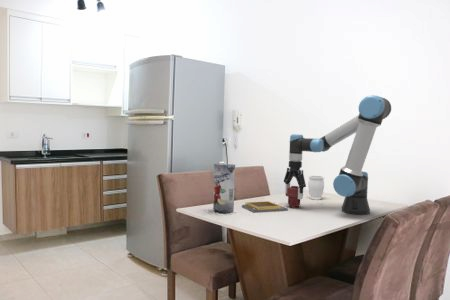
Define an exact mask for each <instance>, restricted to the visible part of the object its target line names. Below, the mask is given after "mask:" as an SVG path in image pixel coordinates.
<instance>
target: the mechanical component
mask: <svg viewBox="0 0 450 300" xmlns="http://www.w3.org/2000/svg"><path fill="white" fill-rule="evenodd" d="M298 187H299V185H298V186H297V185H290V187H288V188H287V193H286V195H285V196H286V197H288V198H287V205H288V207H290V208H292V209H296V208H299V207H300V206H301V199H298Z"/></svg>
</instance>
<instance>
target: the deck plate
mask: <svg viewBox="0 0 450 300" xmlns="http://www.w3.org/2000/svg"><path fill="white" fill-rule="evenodd" d="M241 208H243V209H245V210H247V211H250V212H251V213H272V212H288V211H289V209H288V207H286V206H282V205H280V204H277V203H276V202H272V201H247V202H245V203H244V204H241Z"/></svg>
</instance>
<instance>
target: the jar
mask: <svg viewBox="0 0 450 300" xmlns="http://www.w3.org/2000/svg"><path fill="white" fill-rule="evenodd" d="M324 179H325V177H324V176H321V175H309V176H308V183H307V188H308V194H309V199H310V200H314V201H315V200H316V201H317V200H320V199H321V200H322V199H323V197H322V196H323V194H324V189H325V182H324V181H325V180H324Z"/></svg>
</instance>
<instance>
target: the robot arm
mask: <svg viewBox="0 0 450 300" xmlns="http://www.w3.org/2000/svg"><path fill="white" fill-rule="evenodd" d="M358 112H359V114H358V115H356V116H355V117H353V118H352V119H350V120H348V121H346V122H345V123H343V124H341V125H340V126H338V127H336V128H335V129H333V130H331V131H330V132H328V133H327V134H325V135H324V136H322V137H319V138H307V137H306V138H305V137H304V135H303V134H294V133H293V134H291V135H290V136H289V152H288V153H289V155H288V160H289V161H288V167H287V168H286V172H285V175H284V178H283V183H285V190H284V191H285V192H284V193H285V194H284V195H285V196H286V193H287V188H288V187H291V181H292V180H293V178H295V180H296V181H297V185H298V199H300V200H303V199H304V198H303V197H304V188H306V187H307V185H306V180H305V175H304V170H303V169H301V168H302V167H303V165H302V164H303V162H302V160H303V152H311V153H321V152H326V151H329V150H330V149H331V148H332V147H333V146H335V145H336V144H339V143H340V142H342V141H344V140H345V139H348V138H349V137H351V136H352V135H354V134H355V135H354V137H353V141H352V144H351V148H350V150H349V152H348V156H347V159H346V162H345V165H344V166H342V167H341V168H340V170H339V173H338V175H337V176H336V177H335V178H334V179H333V183H332V186H333V189H334V191H335V193H336V194H338V195H339V196H341V197H344V200H343V202H342V205H341V208H340V211H342V212H343V213H346V214H353V215H369V214H370V213H371V208H370V206H369V205H370V204H369V201H368V184H369V182H368V181H369V176H368V175H369V174H368V172H367V171H362V170H363V167H364V165H365V162H366V159H367V156H368V153H369V150H370V147H371V145H372V142H373V138H374V136H375V133H376V131H377V128H378V127H380V126H381V125H382V123H383V120H384V119H386V118H387V117H389V115H390V114H391V112H392V105H391V102H390V101H389V100H388V99H387V98H385V97H382V96H379V95H375V94H374V95H368V96H367V95H366V96H364V98H362V99H361V100H360V102H359V104H358Z"/></svg>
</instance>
